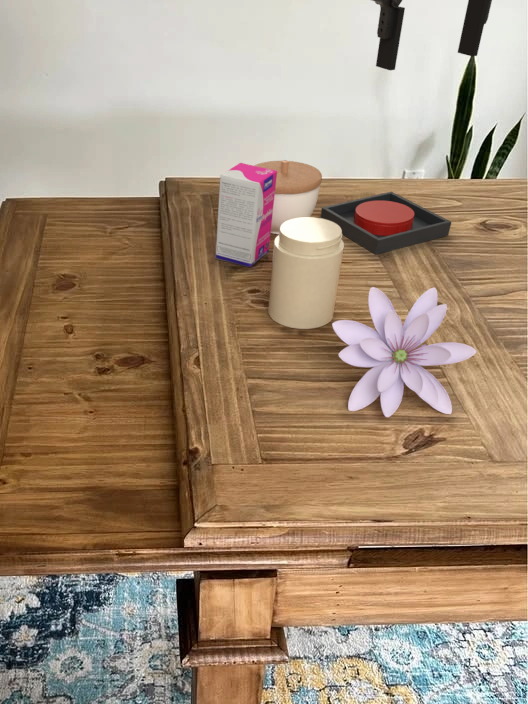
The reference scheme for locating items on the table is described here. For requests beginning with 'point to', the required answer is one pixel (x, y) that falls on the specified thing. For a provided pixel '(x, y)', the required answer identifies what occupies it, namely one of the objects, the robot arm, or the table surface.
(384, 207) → the jam lid
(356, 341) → the water lily
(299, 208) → the trinket box
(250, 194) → the supplement box
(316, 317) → the jam jar
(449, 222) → the tray
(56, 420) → the table surface
